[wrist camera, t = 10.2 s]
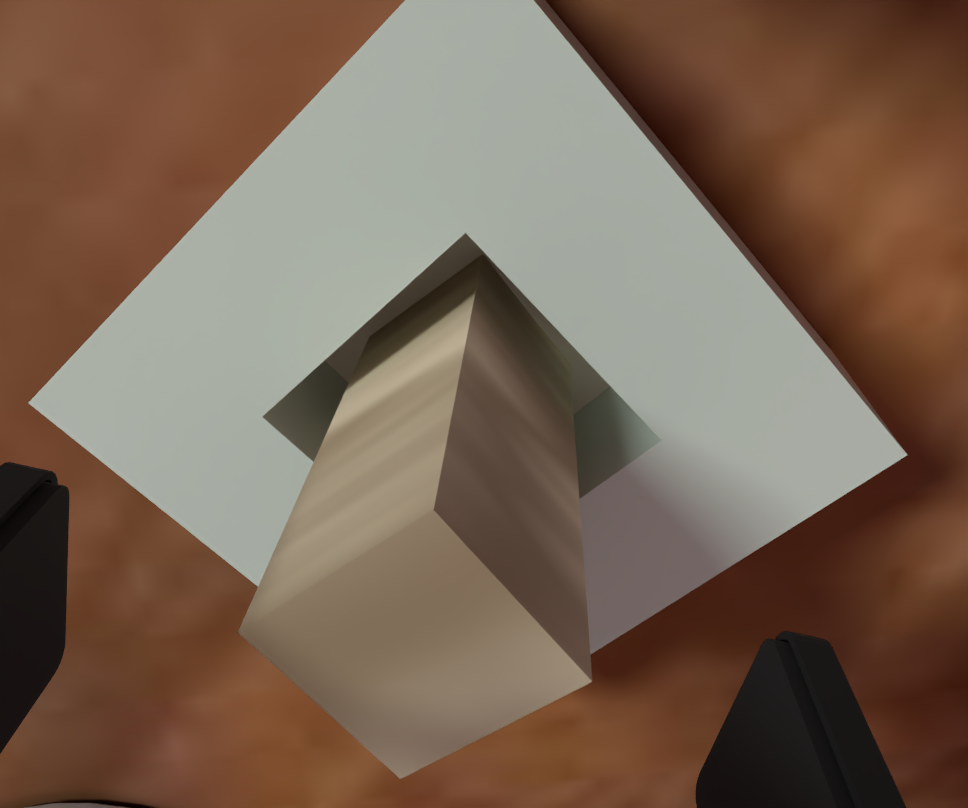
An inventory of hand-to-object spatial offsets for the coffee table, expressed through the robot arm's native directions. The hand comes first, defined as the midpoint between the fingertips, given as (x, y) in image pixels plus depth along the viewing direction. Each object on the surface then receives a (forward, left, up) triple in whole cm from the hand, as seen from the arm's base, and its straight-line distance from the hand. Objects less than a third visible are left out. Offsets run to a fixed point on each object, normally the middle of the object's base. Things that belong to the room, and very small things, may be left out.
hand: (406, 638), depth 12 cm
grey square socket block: (+1, 0, -9) cm, 9 cm away
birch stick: (+1, 0, -8) cm, 8 cm away
